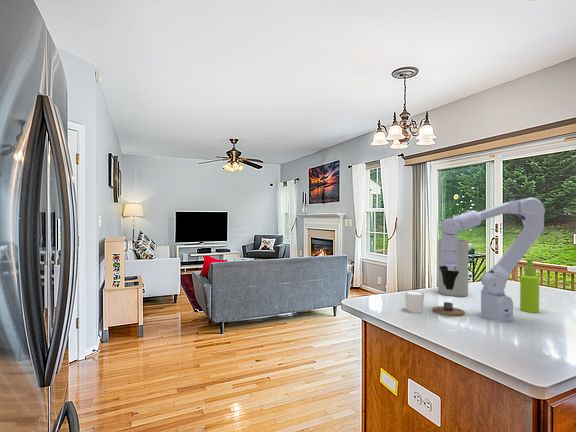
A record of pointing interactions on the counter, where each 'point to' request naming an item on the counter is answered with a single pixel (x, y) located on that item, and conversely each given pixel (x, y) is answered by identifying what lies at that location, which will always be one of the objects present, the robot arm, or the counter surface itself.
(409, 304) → the white cup
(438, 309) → the walnut lid
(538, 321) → the counter surface
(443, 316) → the sage mat
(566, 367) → the counter surface
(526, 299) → the soap dispenser
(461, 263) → the cylinder vase
